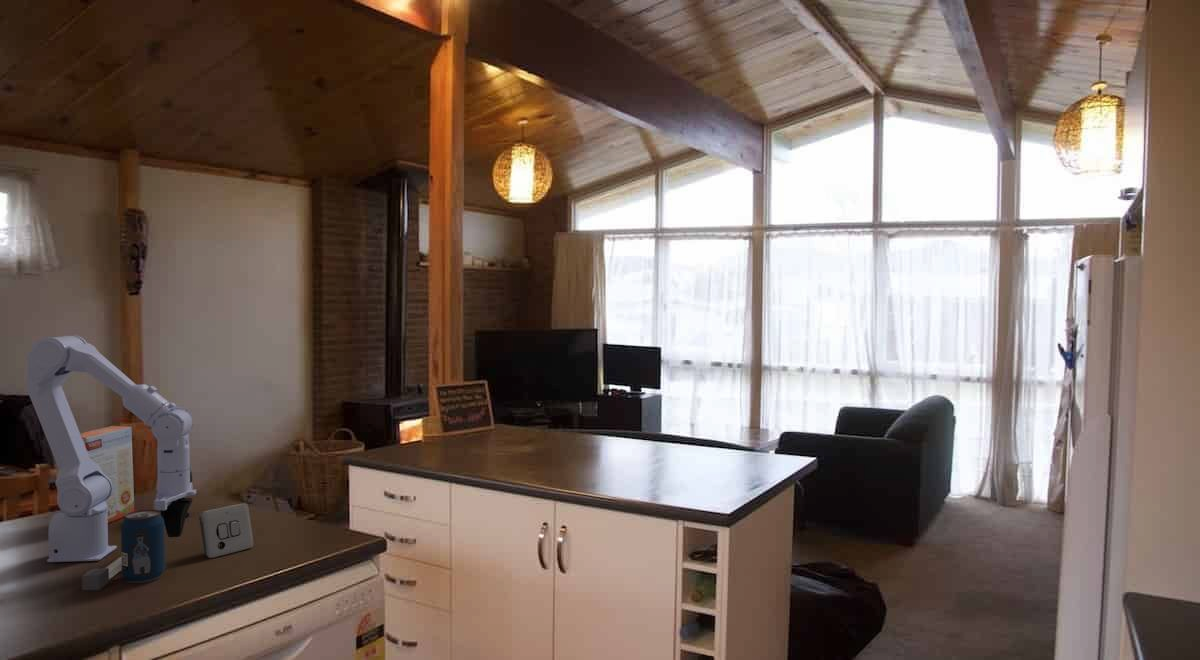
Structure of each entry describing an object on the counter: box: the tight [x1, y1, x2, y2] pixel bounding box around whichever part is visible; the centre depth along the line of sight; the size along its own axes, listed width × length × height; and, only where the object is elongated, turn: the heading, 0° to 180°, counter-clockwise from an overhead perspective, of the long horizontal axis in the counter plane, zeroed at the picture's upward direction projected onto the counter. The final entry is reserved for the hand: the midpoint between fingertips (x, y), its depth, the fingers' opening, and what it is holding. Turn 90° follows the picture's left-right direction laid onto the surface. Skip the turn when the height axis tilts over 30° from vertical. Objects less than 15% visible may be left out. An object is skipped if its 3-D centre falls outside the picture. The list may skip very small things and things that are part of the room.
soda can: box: [120, 509, 166, 584], centre depth 146 cm, size 7×7×12 cm
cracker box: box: [80, 425, 135, 524], centre depth 180 cm, size 14×6×21 cm, turn 172°
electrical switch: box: [198, 503, 254, 559], centre depth 162 cm, size 9×5×9 cm, turn 141°
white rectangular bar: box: [81, 555, 122, 591], centre depth 152 cm, size 3×23×3 cm, turn 8°
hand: (174, 536), depth 160 cm, fingers closed
